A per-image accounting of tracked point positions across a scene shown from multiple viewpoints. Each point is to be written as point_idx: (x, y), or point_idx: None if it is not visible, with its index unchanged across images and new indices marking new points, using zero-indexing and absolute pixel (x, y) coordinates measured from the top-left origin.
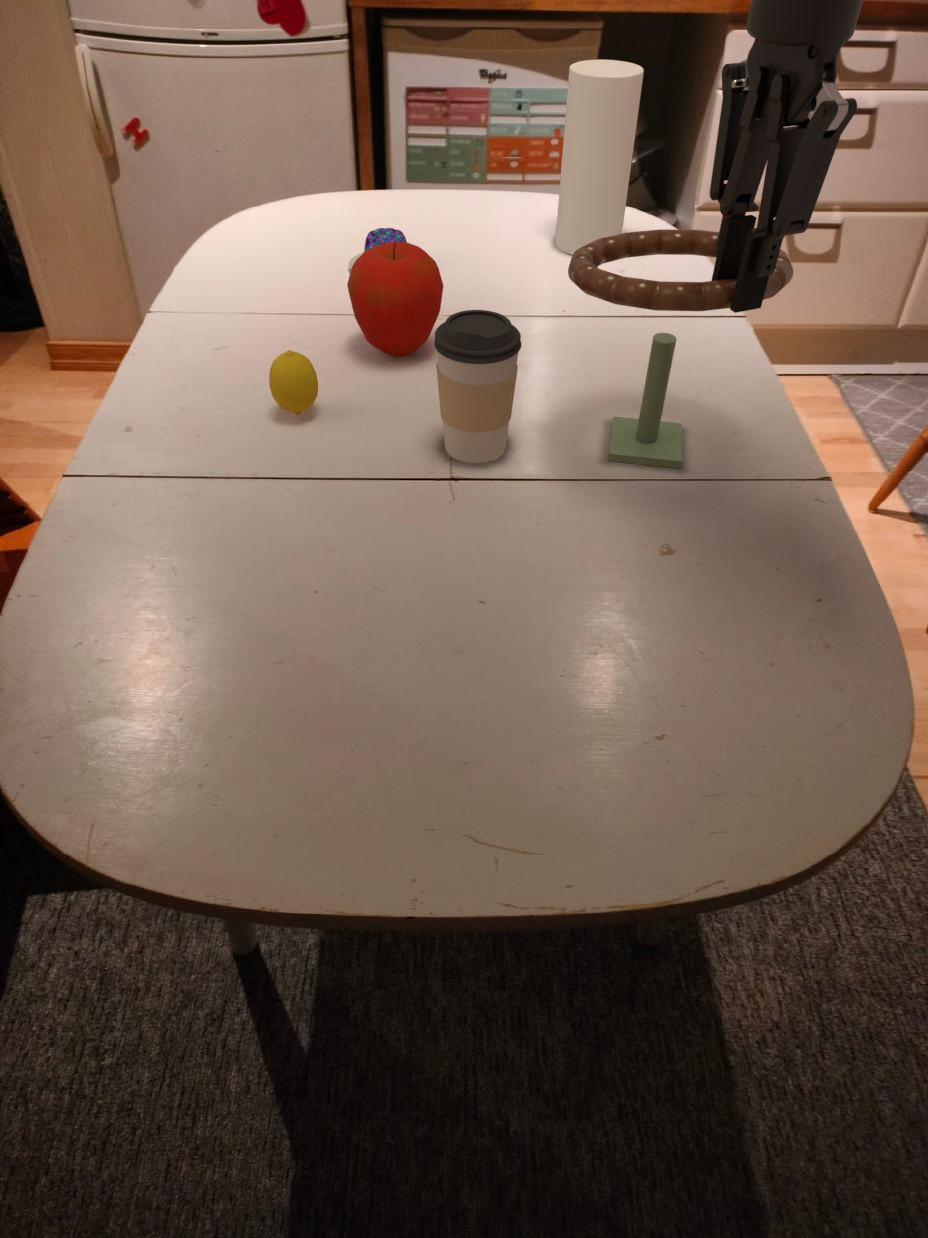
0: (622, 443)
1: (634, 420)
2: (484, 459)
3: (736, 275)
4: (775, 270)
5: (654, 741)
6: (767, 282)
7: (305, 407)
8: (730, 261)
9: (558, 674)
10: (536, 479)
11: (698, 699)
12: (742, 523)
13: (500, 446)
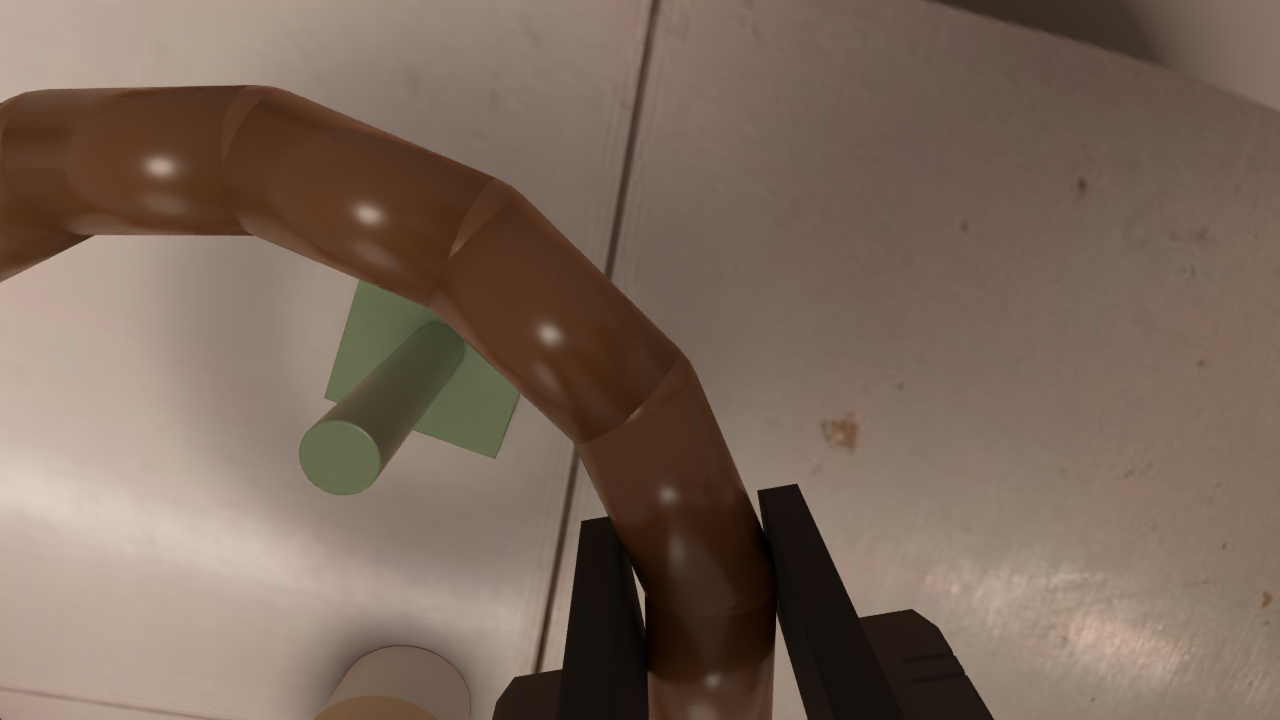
0: (455, 414)
1: (350, 350)
2: (468, 703)
3: (627, 595)
4: (615, 385)
5: (1270, 610)
6: (824, 543)
7: None
8: (637, 698)
9: (1088, 703)
10: (546, 613)
11: (1222, 517)
12: (795, 233)
13: (448, 685)
